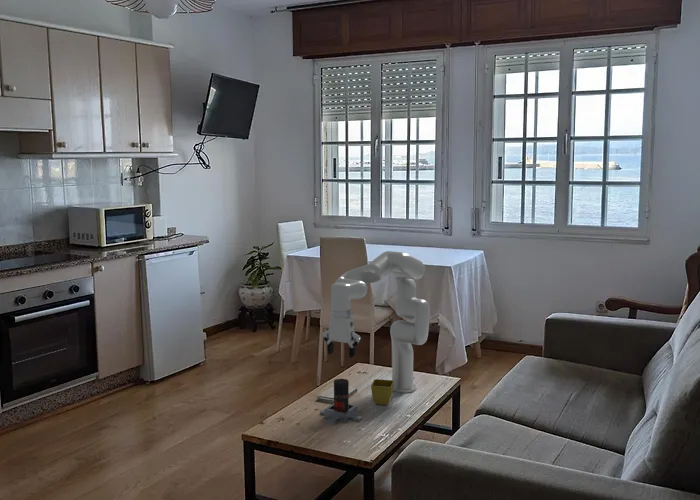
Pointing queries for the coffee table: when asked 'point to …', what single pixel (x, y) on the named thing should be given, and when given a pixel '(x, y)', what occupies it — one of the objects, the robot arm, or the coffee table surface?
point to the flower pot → (382, 391)
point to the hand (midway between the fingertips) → (341, 355)
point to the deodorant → (341, 395)
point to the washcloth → (329, 394)
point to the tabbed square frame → (341, 414)
